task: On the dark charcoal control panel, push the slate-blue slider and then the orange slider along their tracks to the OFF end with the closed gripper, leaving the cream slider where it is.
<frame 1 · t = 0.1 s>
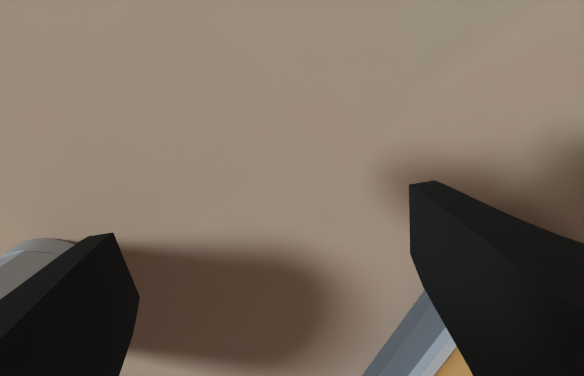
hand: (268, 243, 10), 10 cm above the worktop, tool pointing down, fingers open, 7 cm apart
cup: (57, 290, 22), on the worktop
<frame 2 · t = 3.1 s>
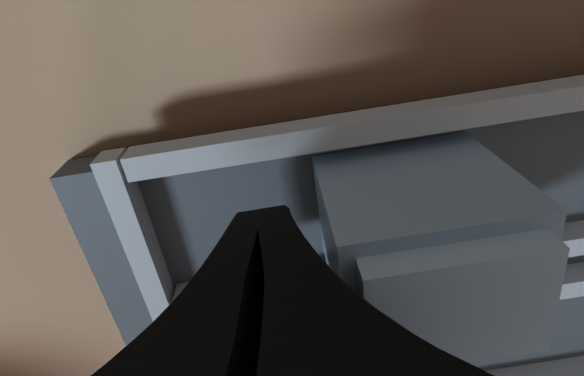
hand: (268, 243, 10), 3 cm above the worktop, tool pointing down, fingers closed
panel: (410, 327, 16), on the worktop
slider blue: (418, 243, 9), point 4 cm above the worktop, slide at 1.1 cm, touching gripper
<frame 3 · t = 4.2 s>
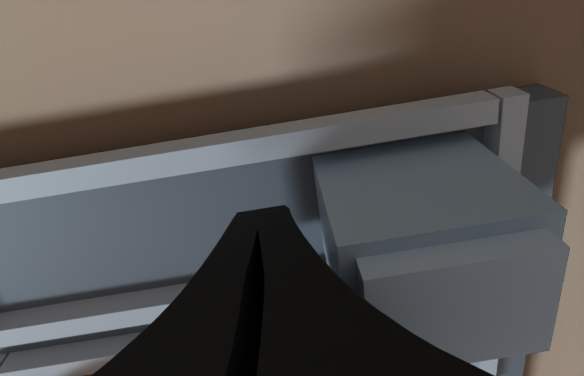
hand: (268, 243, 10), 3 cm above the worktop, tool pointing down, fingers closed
panel: (257, 352, 16), on the worktop
slider blue: (419, 243, 9), point 4 cm above the worktop, slide at 6.9 cm, touching gripper
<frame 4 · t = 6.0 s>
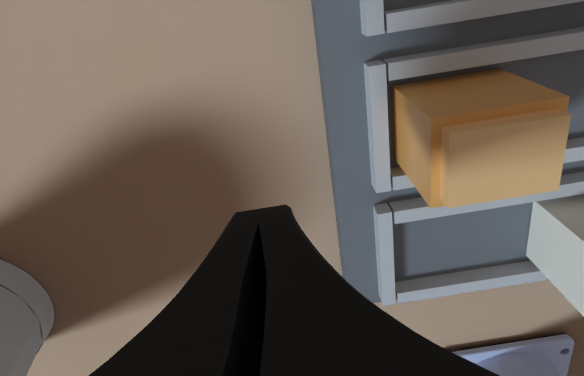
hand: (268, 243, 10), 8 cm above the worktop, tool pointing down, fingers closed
panel: (551, 98, 18), on the worktop
slider orange: (471, 136, 14), point 4 cm above the worktop, slide at 0.0 cm
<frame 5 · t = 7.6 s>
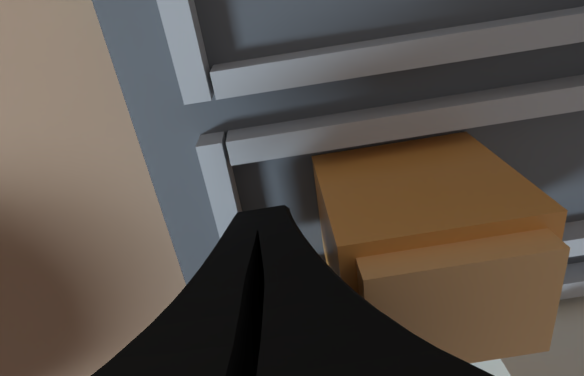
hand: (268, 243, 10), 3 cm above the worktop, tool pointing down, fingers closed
panel: (488, 172, 13), on the worktop
slider orange: (418, 243, 9), point 4 cm above the worktop, slide at 1.7 cm, touching gripper
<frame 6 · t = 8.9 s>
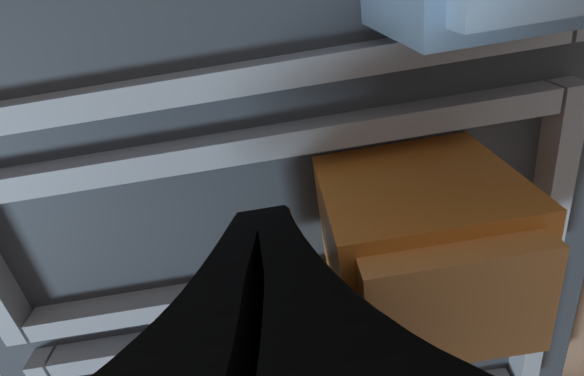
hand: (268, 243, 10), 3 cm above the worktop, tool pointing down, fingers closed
panel: (269, 207, 13), on the worktop
slider orange: (419, 243, 9), point 4 cm above the worktop, slide at 8.4 cm, touching gripper
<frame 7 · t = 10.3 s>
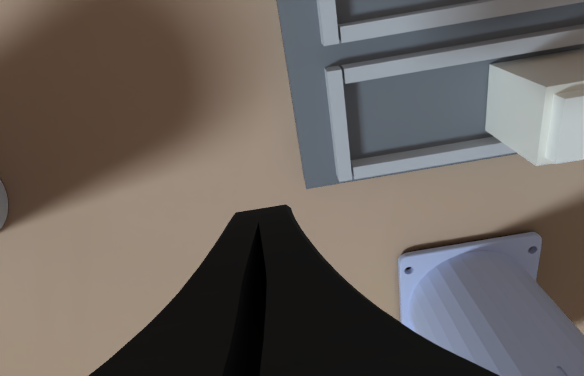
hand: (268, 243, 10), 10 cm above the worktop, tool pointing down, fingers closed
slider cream: (565, 105, 17), point 4 cm above the worktop, slide at 0.0 cm
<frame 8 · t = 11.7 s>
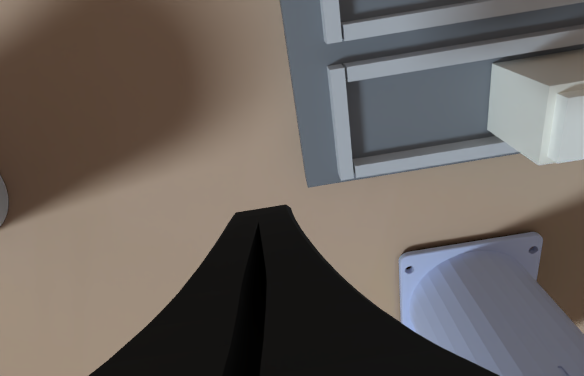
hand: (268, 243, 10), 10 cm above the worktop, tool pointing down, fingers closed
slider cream: (568, 105, 17), point 4 cm above the worktop, slide at 0.0 cm
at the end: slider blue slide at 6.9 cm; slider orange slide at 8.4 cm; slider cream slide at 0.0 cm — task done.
